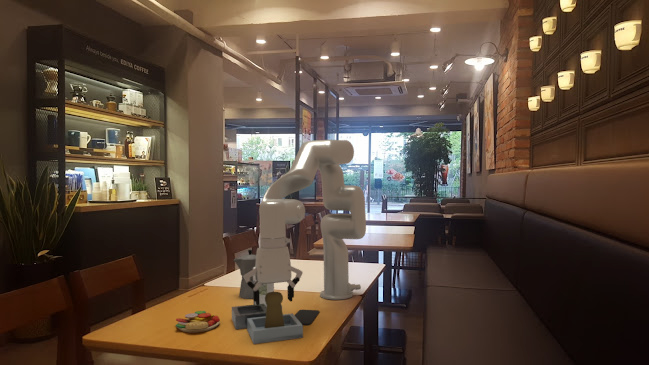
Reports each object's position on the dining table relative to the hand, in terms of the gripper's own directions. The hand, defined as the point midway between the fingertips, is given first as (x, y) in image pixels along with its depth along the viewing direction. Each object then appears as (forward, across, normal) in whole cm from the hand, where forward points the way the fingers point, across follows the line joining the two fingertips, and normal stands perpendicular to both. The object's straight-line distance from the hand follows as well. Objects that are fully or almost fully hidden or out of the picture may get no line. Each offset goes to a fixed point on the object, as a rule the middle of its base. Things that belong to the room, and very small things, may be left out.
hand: (273, 301), depth 128 cm
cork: (+8, 0, 0) cm, 9 cm away
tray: (+9, 0, 0) cm, 9 cm away
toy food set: (+10, +21, -15) cm, 28 cm away
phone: (+10, -12, -12) cm, 20 cm away
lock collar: (+9, +2, -15) cm, 18 cm away
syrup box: (+10, -2, -28) cm, 30 cm away
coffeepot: (+10, -1, -45) cm, 46 cm away
